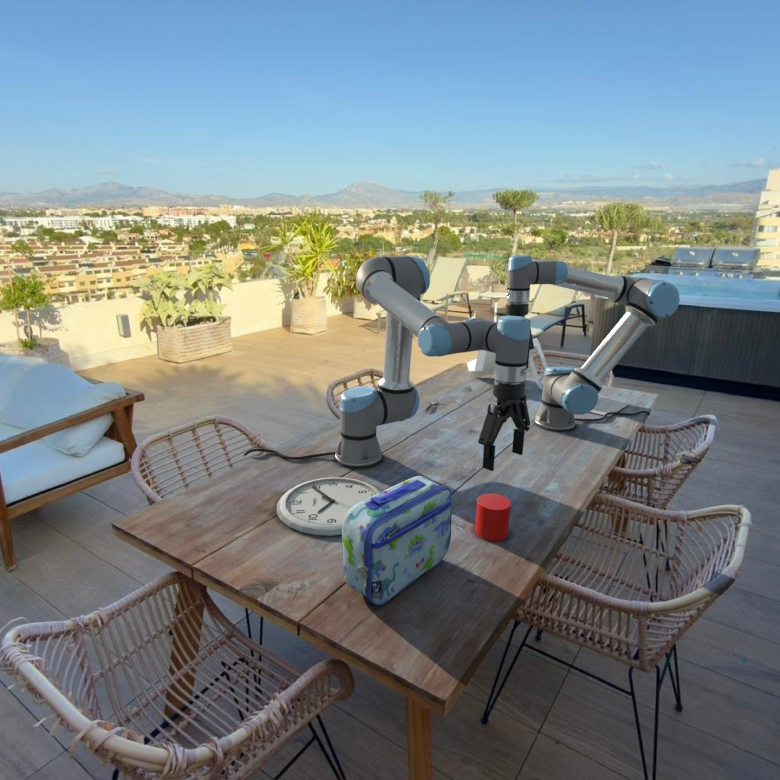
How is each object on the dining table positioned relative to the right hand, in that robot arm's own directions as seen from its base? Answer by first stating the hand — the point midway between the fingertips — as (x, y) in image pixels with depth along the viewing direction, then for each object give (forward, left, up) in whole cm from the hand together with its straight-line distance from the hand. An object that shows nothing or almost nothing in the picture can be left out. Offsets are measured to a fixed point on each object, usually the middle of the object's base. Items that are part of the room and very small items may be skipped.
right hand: (513, 364), depth 182 cm
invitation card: (-44, -43, -28) cm, 68 cm away
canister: (+10, +63, -28) cm, 70 cm away
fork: (+29, -31, -28) cm, 51 cm away
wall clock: (+52, +56, -28) cm, 81 cm away
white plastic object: (-6, -72, -28) cm, 77 cm away
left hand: (+7, +56, -12) cm, 58 cm away
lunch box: (+31, +84, -28) cm, 94 cm away
